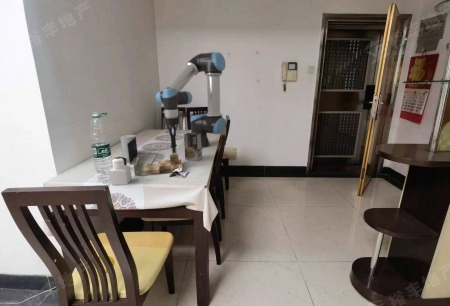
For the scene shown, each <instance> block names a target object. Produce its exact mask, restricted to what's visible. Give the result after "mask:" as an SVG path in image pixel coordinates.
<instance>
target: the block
mask: <svg viewBox="0 0 450 306" xmlns="http://www.w3.org/2000/svg"><path fill="white" fill-rule="evenodd" d="M169 160H170V165H176V164H179V154H178V153H177V154H173V155H172V154H169Z"/></svg>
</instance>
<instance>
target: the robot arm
mask: <svg viewBox="0 0 450 306" xmlns="http://www.w3.org/2000/svg"><path fill="white" fill-rule="evenodd" d="M225 69H226V59H225V57H224V56H223V54H222V53H221V52H215V51H214V52H213V51H211V52H204V53H203V52H201V53H198V54H196V55H195V56H193V57H192V58H190V60H188V62H186V64H185V67H184V68H183V69H182V71H181V72H179V73H178V75H177V76H176V77H175V78H174V79H173V80H172V81H171V82H170V83H169V84H168V86H166V87H165V88H163V89H162V90H160V91H157V93H156V95H155V99H156V102H157V103H159V104H162V105H163V111H162V114H164V117H165V118H164V125H167V126H169V127H168V132H169V136H170V146H169V147H170V149H171V155H173V154H178V153H177V146H178V144H177V139H176V136H177V127H176V126H175V125H179V123H180V119H179V106H184V105H185V106H187V105H189V104H190V105H191V103H192V101H193V95H192V93H191V92H190V91H186V90H184V91H183V89H184V87H186V85H187V84H188V83H189V82H190V81H191V79H193V77H194V76H197V75H198V74H199V73H203V72H204V76H206V81H207V82H206V87H207V89H206V91H207V113H203V114H195V115H191V116H190V133H201V141H202V148H206V147H209V146H210V141H209V137H208V134H213V135H221V134H222V133H223V132H224V131H225V128H226V124H227V121H226V119H225V118H224V117H223V114H222V112H221V76H222V75H223V71H224V70H225ZM223 130H224V131H223ZM222 131H223V132H222Z"/></svg>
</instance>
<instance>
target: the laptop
mask: <svg viewBox="0 0 450 306" xmlns="http://www.w3.org/2000/svg"><path fill="white" fill-rule="evenodd" d="M136 143H137V136H136V137H135V138H134V139H132V140H131V141H130V142H129V143H127V147H128V156H127V157H128V162H129V165H130V166H134V164H135V162H136V159H137V157H139V161H140V162H147V164H153V162H154V161H155V159H156V157H157V154H147V155H146V154H143V155H142V154H141V155H139V154H137V152H138V145H137V144H136Z"/></svg>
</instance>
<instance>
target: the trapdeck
mask: <svg viewBox="0 0 450 306" xmlns="http://www.w3.org/2000/svg"><path fill="white" fill-rule="evenodd" d="M179 166H180V168H183V169H184V167H183V163H182V159H181V158H180V159H179V164H176V165H170V159H167V160H166V159H165V160H158V161H157V163H152V164H147V162H140V161H139V157H137V159H136V162H135V164H134V165H133V171H134V172H133V173H134V177H141V176H142V175H143V176H152V175H153V176H154V174H155V175H165V174H173V173H172V172H173V171H174V170H175V169H177V168H179ZM143 176H142V177H143Z"/></svg>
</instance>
